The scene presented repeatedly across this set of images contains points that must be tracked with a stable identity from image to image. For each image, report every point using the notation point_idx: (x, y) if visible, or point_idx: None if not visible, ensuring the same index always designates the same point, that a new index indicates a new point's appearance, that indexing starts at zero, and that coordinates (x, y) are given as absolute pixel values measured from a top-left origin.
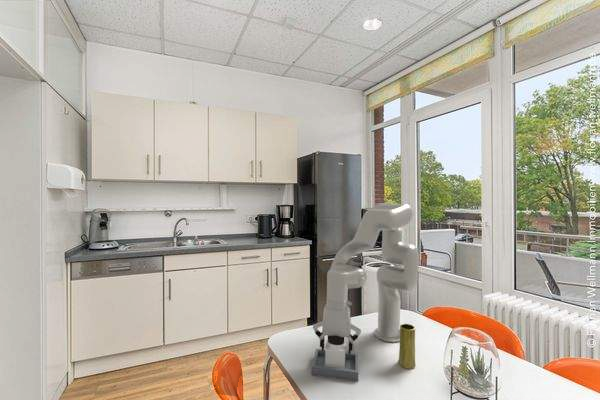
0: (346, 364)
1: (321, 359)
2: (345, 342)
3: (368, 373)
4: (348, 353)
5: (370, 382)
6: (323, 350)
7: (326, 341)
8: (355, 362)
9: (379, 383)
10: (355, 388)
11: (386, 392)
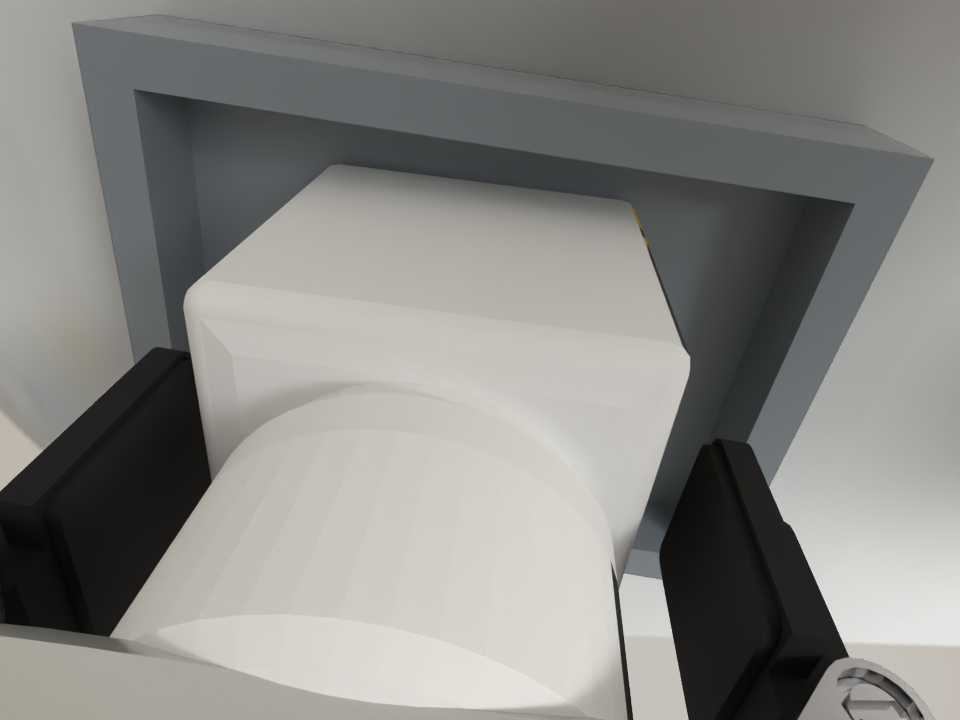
0: None
1: (258, 192)
2: (686, 379)
3: (883, 396)
4: (659, 557)
5: (822, 524)
6: (209, 485)
7: (189, 322)
8: (758, 417)
9: (915, 537)
10: (634, 584)
11: (908, 627)
